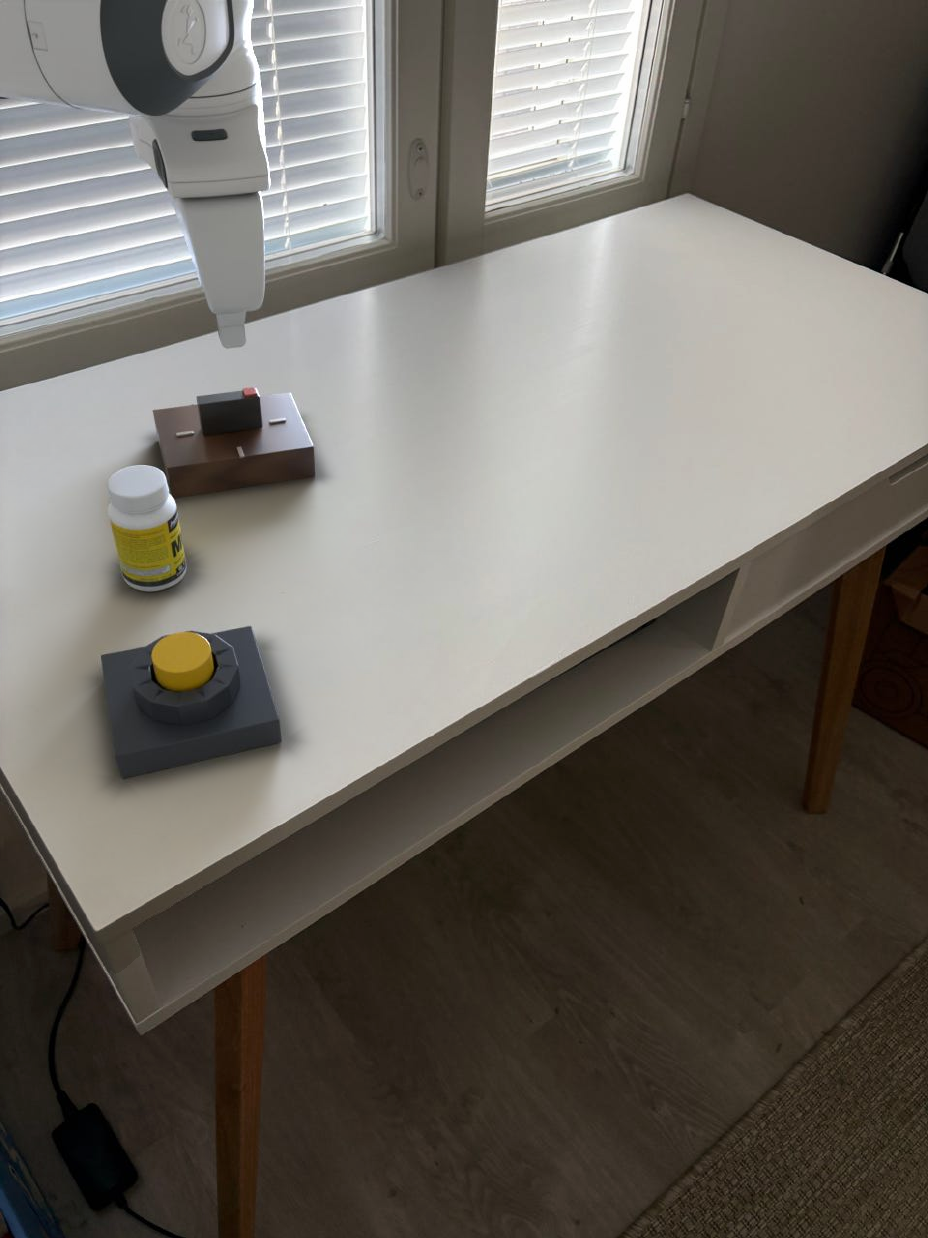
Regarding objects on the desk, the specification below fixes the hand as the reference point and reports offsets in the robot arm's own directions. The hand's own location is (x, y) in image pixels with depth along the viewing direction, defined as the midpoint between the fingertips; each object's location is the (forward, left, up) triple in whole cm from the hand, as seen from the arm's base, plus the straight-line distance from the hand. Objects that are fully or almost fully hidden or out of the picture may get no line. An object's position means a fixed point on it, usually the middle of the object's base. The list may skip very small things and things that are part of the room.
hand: (221, 313), depth 78 cm
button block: (-8, -27, -14) cm, 32 cm away
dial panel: (0, +1, -14) cm, 14 cm away
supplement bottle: (-9, -13, -14) cm, 21 cm away
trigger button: (-8, -27, -10) cm, 30 cm away
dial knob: (0, +1, -11) cm, 11 cm away
